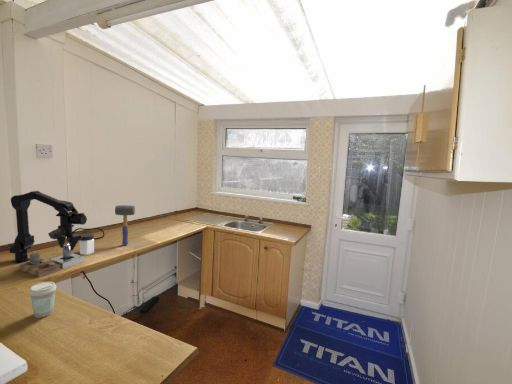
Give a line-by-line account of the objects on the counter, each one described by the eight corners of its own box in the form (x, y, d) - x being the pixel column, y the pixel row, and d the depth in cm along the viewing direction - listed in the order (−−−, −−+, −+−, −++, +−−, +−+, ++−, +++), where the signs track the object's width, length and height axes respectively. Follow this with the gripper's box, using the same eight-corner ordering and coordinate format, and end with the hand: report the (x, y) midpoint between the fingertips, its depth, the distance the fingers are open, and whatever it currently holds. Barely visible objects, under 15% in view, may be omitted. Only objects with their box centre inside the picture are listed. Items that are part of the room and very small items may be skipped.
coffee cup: (26, 321, 97) (24, 292, 96) (35, 309, 105) (33, 282, 104) (53, 317, 101) (52, 289, 100) (60, 306, 109) (59, 279, 107)
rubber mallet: (114, 246, 181) (114, 206, 178) (117, 243, 188) (117, 204, 185) (133, 246, 185) (133, 206, 181) (135, 243, 192) (135, 204, 188)
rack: (19, 269, 139) (18, 253, 138) (40, 263, 148) (40, 248, 147) (39, 277, 132) (38, 260, 131) (60, 270, 141) (59, 254, 140)
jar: (97, 250, 173) (97, 233, 171) (90, 254, 165) (90, 237, 163) (83, 250, 172) (83, 233, 170) (76, 254, 164) (75, 236, 162)
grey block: (61, 263, 150) (61, 244, 149) (68, 260, 154) (68, 242, 152) (65, 264, 149) (65, 245, 147) (72, 262, 152) (72, 243, 151)
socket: (49, 264, 148) (49, 259, 147) (71, 257, 159) (71, 252, 159) (62, 268, 143) (62, 263, 143) (84, 261, 154) (83, 256, 154)
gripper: (40, 223, 144) (41, 250, 146) (61, 229, 137) (62, 256, 139) (61, 220, 155) (62, 244, 156) (82, 224, 148) (82, 250, 150)
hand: (66, 249), depth 150 cm, fingers open, 9 cm apart
